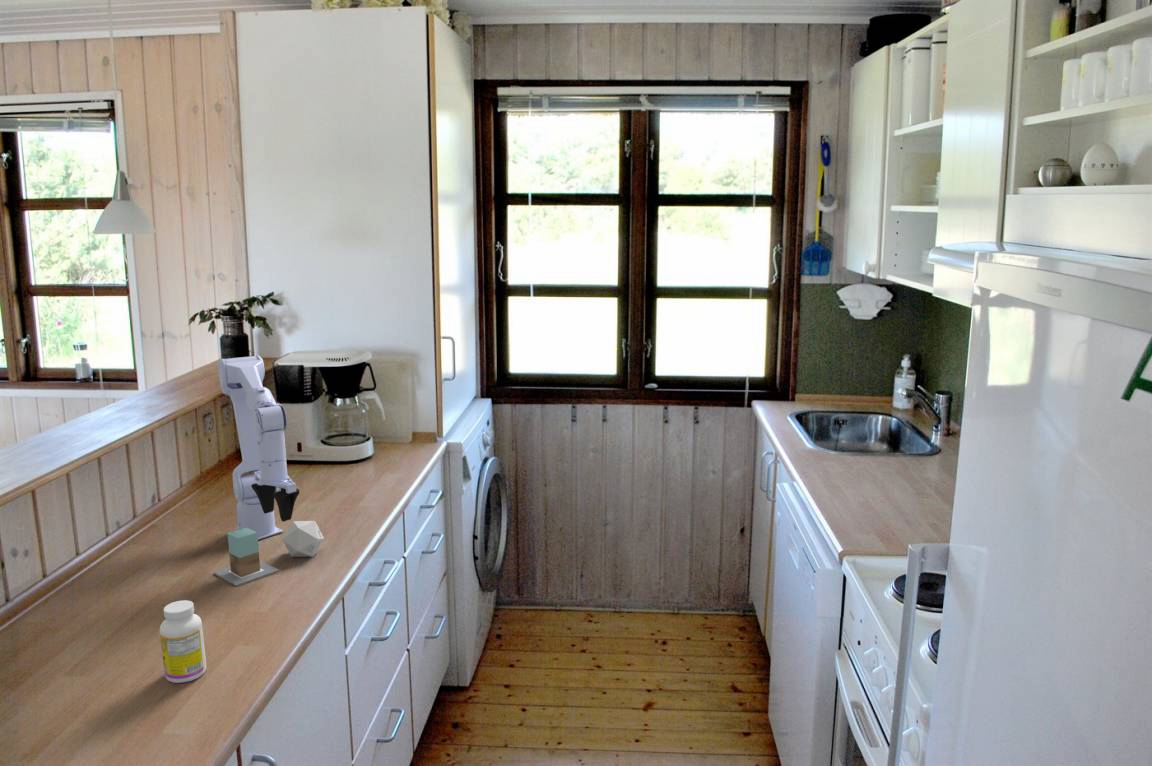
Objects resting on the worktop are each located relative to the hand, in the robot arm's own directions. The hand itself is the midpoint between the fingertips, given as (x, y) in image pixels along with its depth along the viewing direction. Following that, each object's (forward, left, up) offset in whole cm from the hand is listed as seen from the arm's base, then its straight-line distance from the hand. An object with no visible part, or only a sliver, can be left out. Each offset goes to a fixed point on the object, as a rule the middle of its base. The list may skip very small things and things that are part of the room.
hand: (277, 516), depth 194 cm
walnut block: (+1, -9, -10) cm, 14 cm away
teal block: (+1, -9, -6) cm, 11 cm away
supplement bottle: (+32, -37, -11) cm, 50 cm away
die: (+2, +5, -11) cm, 12 cm away
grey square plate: (+1, -9, -10) cm, 14 cm away
